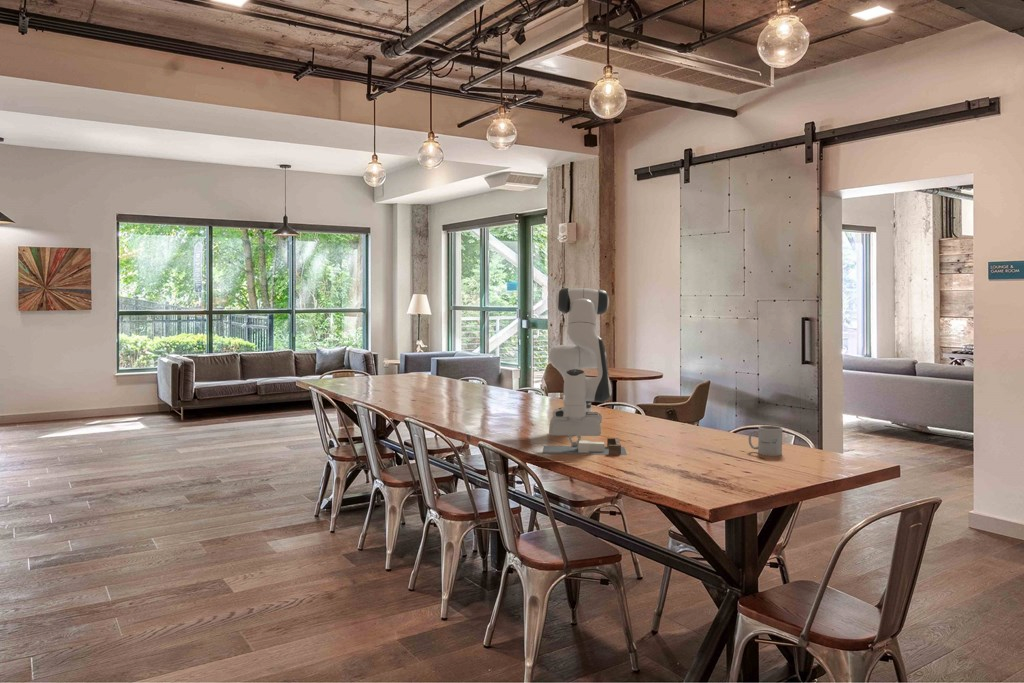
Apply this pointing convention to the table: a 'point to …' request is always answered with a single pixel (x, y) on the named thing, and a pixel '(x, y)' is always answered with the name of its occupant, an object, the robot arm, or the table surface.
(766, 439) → the mug
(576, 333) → the robot arm
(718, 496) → the table surface
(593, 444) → the tee
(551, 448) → the mat
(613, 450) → the dock
